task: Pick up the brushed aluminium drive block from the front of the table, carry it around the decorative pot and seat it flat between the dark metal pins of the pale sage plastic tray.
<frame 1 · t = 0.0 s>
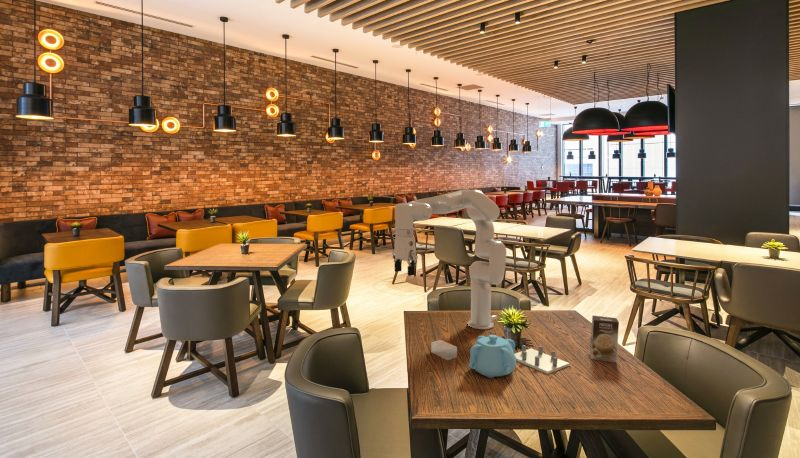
hand: (404, 273, 183), 31 cm above the table, tool pointing down, fingers open, 9 cm apart
coffee box: (603, 358, 172), on the table
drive: (443, 355, 175), on the table
decorative pot: (492, 372, 160), on the table
pin tray: (538, 361, 168), on the table
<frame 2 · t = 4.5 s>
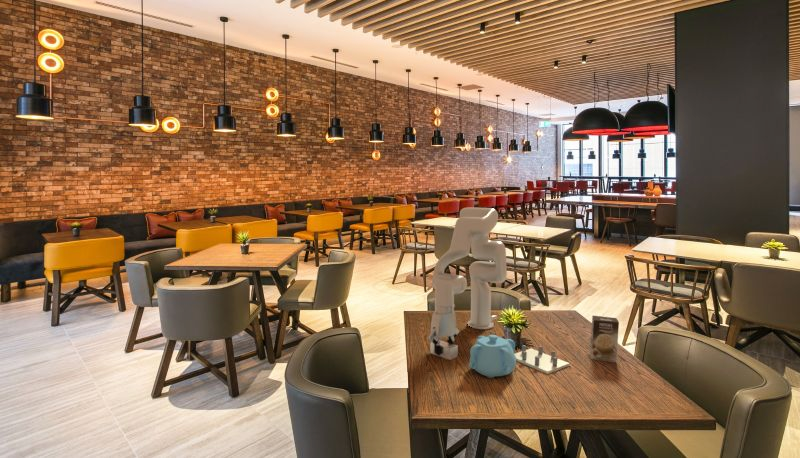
hand: (443, 351, 175), 1 cm above the table, tool pointing down, fingers closed on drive, 5 cm apart
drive: (443, 354, 175), on the table, touching gripper
everything else where it was.
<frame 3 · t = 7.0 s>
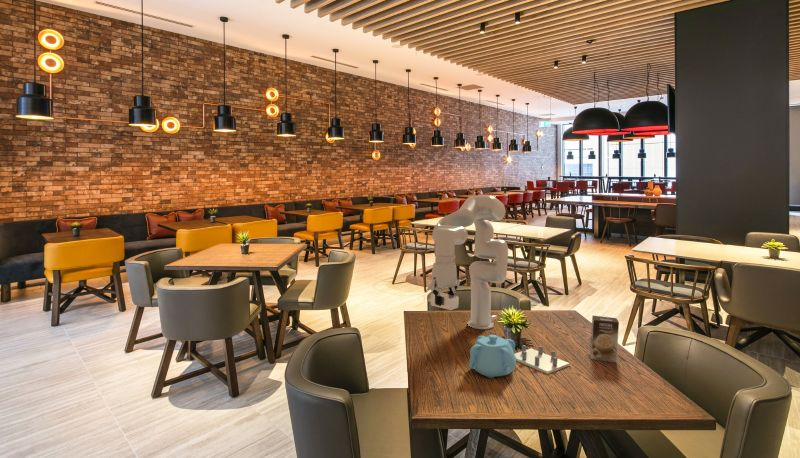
hand: (444, 303, 173), 21 cm above the table, tool pointing down, fingers closed on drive, 5 cm apart
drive: (444, 306, 173), point 20 cm above the table, touching gripper
everything else where it was.
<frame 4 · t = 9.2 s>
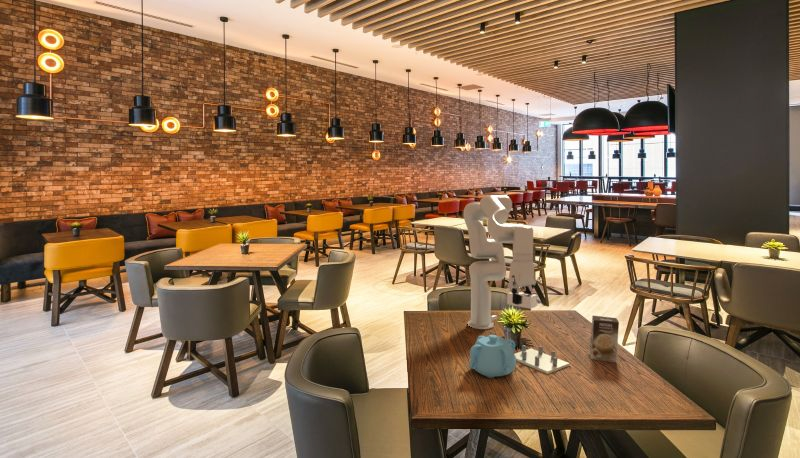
hand: (521, 302, 171), 22 cm above the table, tool pointing down, fingers closed on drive, 5 cm apart
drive: (521, 305, 171), point 21 cm above the table, touching gripper
everything else where it was.
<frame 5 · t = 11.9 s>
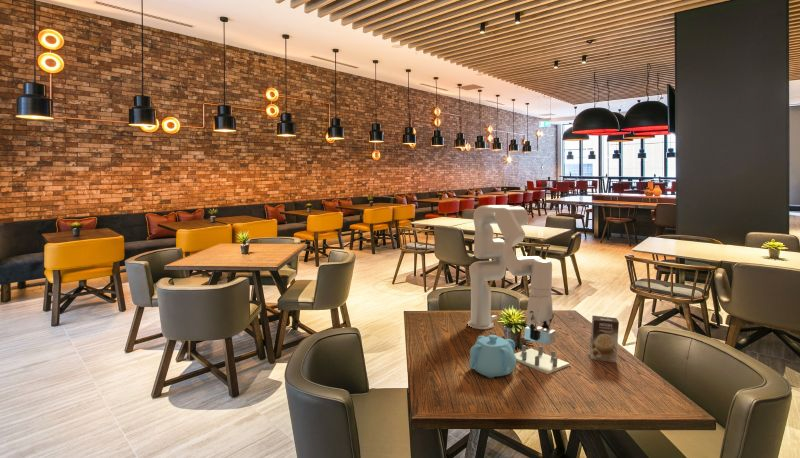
hand: (539, 337, 167), 10 cm above the table, tool pointing down, fingers closed on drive, 5 cm apart
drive: (539, 340, 167), point 9 cm above the table, touching gripper
everything else where it was.
when the fingers open (4 cm above the table, at t = 13.9 s): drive drops 2 cm, resting on pin tray.
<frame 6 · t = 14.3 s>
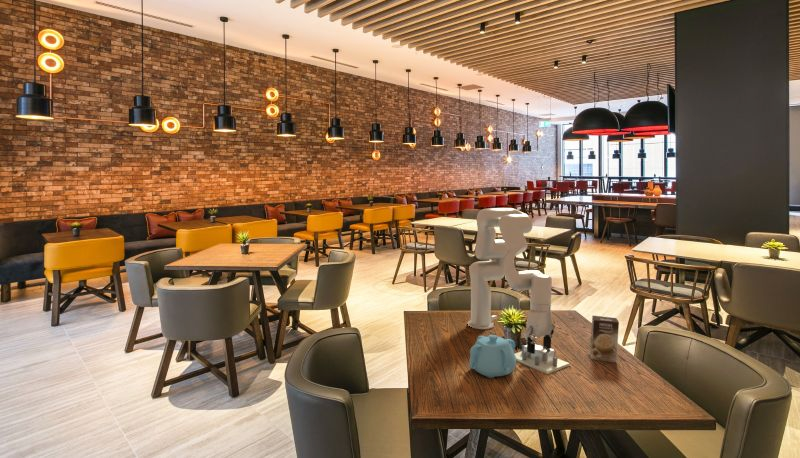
hand: (539, 349, 168), 5 cm above the table, tool pointing down, fingers open, 9 cm apart
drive: (538, 359, 168), point 1 cm above the table, touching pin tray
everything else where it was.
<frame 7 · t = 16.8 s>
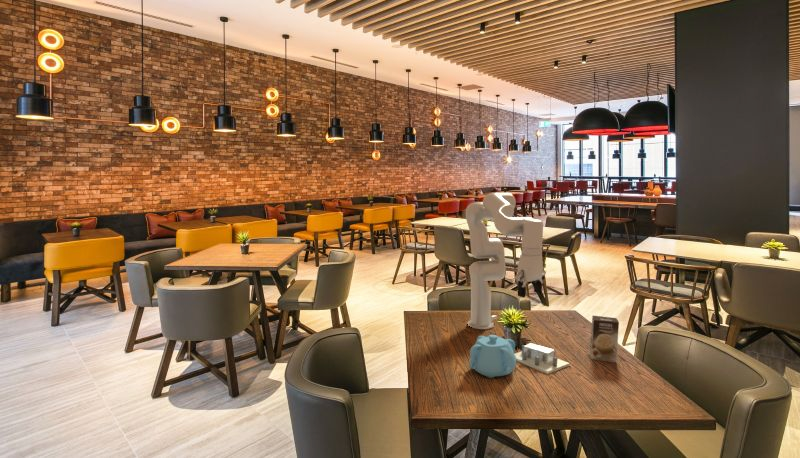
hand: (529, 294, 169), 26 cm above the table, tool pointing down, fingers open, 9 cm apart
nothing on the table moved.
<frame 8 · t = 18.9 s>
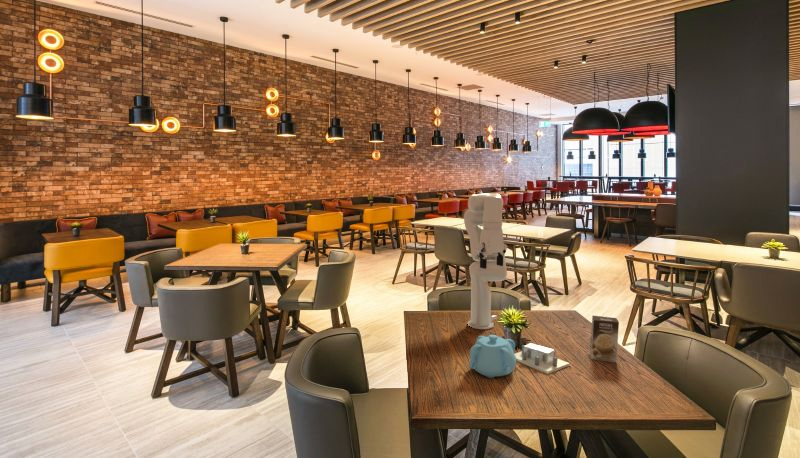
hand: (491, 266, 180), 34 cm above the table, tool pointing down, fingers open, 9 cm apart
nothing on the table moved.
at the end: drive 0.1 cm off-centre on the pin tray, point 1.0 cm above the pin tray's base; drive tilted 0°; the gripper is holding nothing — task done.
